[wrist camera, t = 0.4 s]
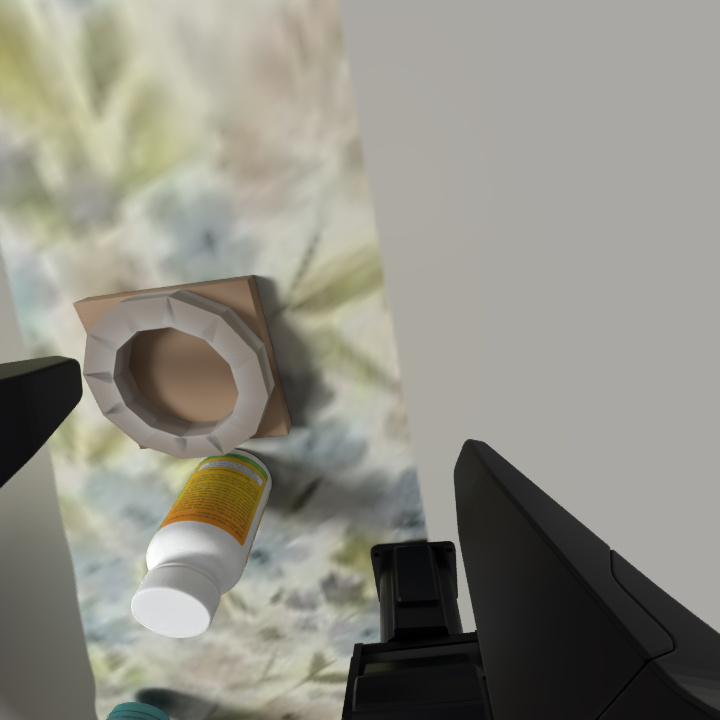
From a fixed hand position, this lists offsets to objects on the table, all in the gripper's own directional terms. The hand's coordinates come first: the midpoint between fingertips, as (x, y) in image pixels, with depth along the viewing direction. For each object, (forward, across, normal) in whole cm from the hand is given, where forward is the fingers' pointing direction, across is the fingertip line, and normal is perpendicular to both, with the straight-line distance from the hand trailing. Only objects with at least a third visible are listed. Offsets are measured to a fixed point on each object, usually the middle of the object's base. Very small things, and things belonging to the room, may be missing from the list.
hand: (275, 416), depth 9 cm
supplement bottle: (+14, +4, +15) cm, 21 cm away
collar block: (+14, +8, +7) cm, 17 cm away
